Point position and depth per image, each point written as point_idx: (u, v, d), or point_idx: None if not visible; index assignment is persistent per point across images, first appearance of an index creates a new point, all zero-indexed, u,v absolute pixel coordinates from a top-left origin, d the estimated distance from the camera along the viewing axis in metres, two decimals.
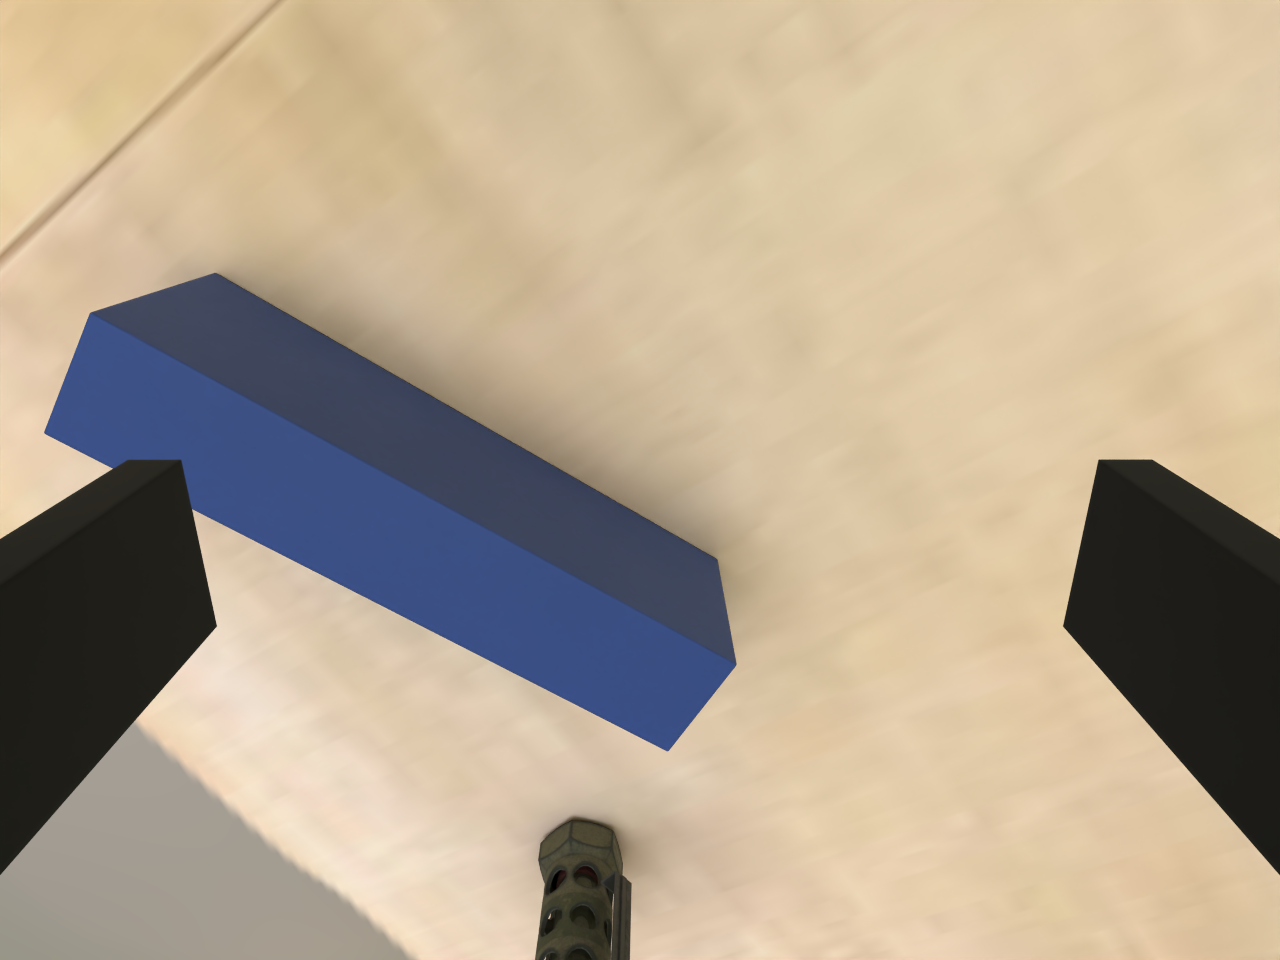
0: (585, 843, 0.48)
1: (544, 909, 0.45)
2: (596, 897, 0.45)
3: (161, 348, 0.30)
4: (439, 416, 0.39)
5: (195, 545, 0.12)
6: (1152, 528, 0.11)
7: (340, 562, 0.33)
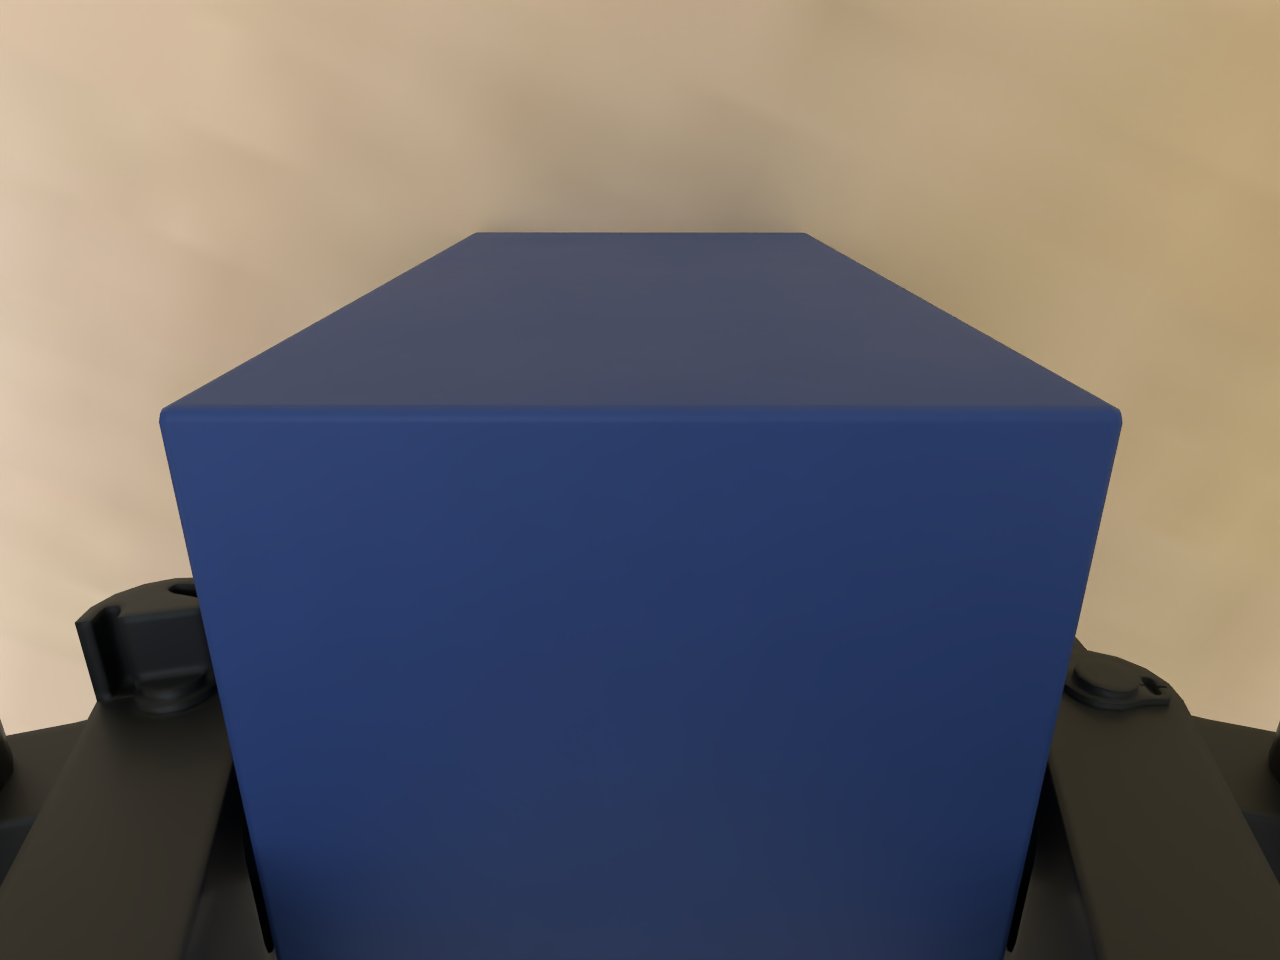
0: None
1: None
2: None
3: (1034, 759, 0.06)
4: None
5: None
6: None
7: None
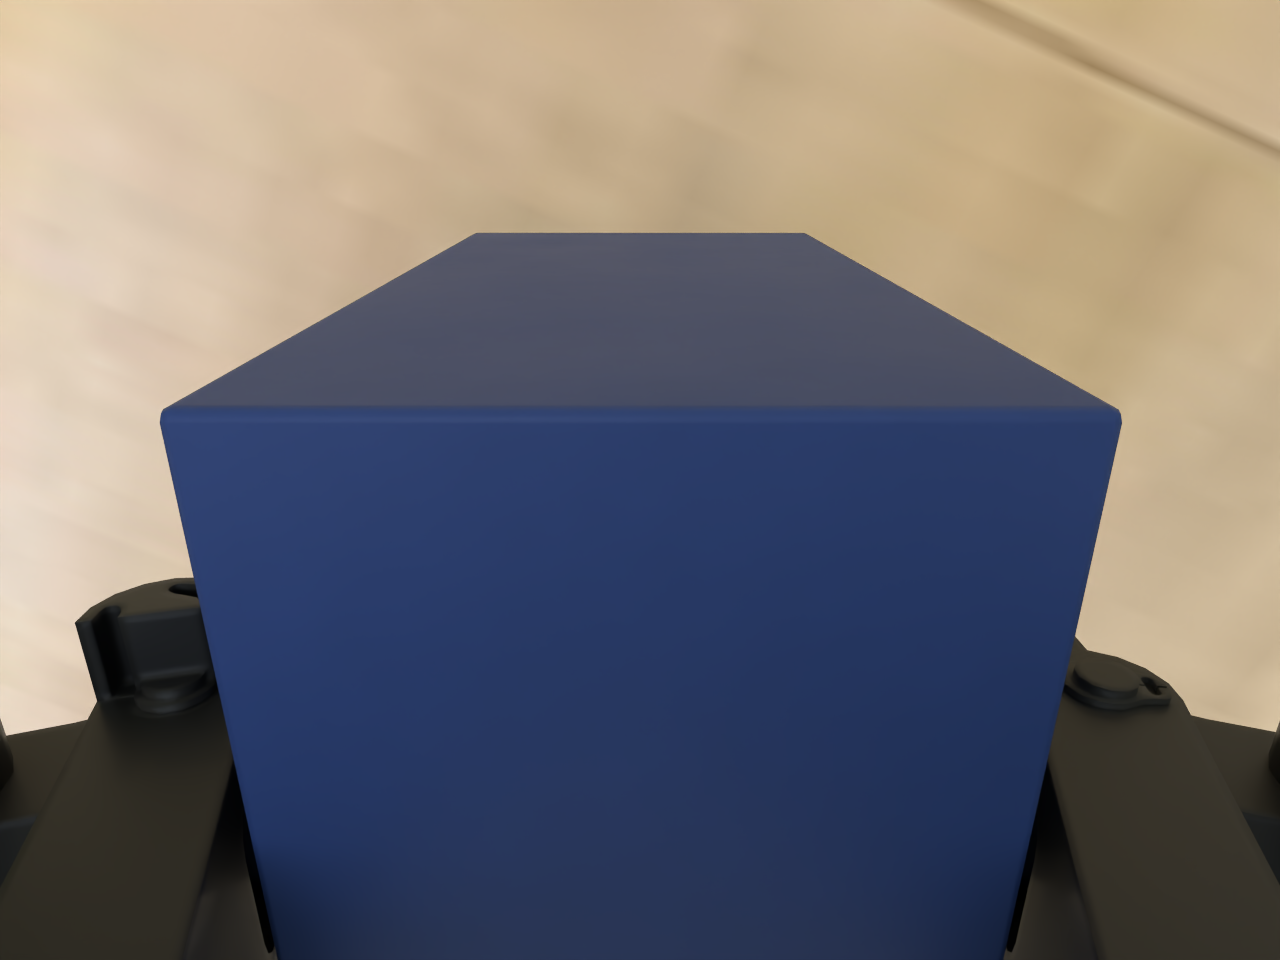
0: None
1: None
2: None
3: (1032, 760, 0.06)
4: None
5: None
6: None
7: None
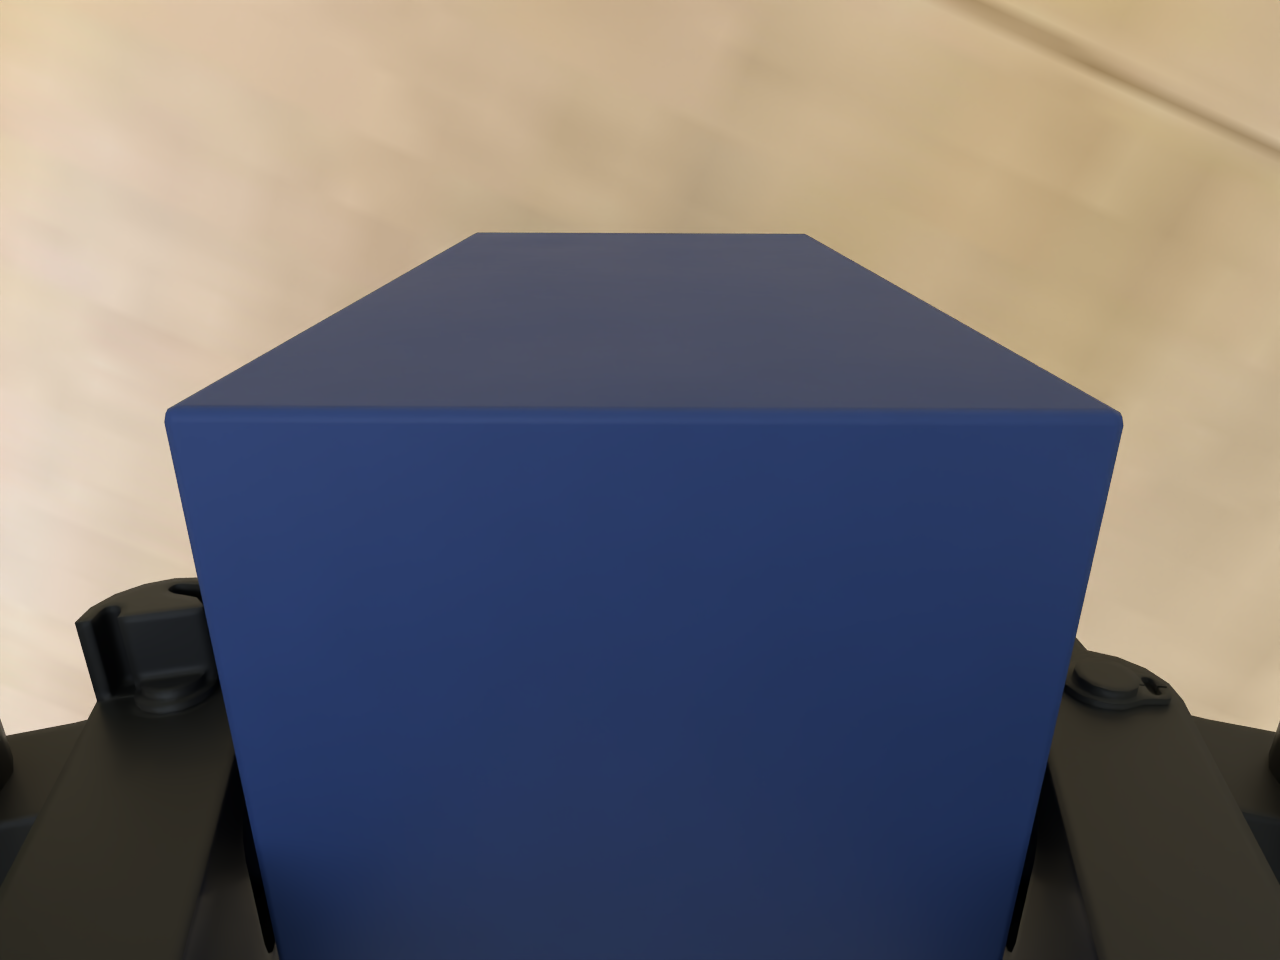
0: None
1: None
2: None
3: (1033, 761, 0.06)
4: None
5: None
6: None
7: None
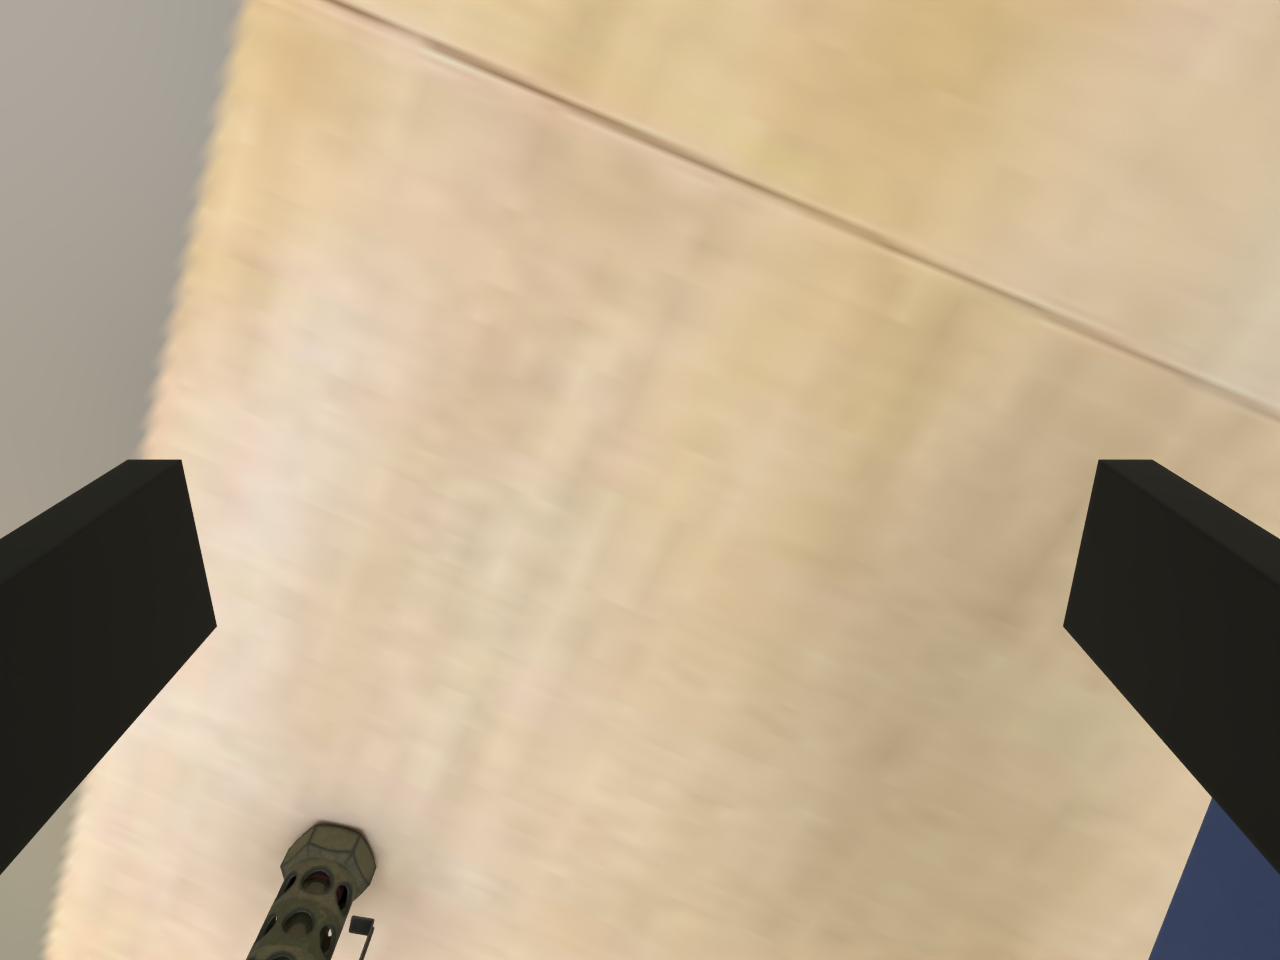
0: (358, 865, 0.47)
1: (295, 902, 0.44)
2: (340, 927, 0.45)
3: None
4: None
5: (195, 545, 0.12)
6: (1151, 529, 0.11)
7: None
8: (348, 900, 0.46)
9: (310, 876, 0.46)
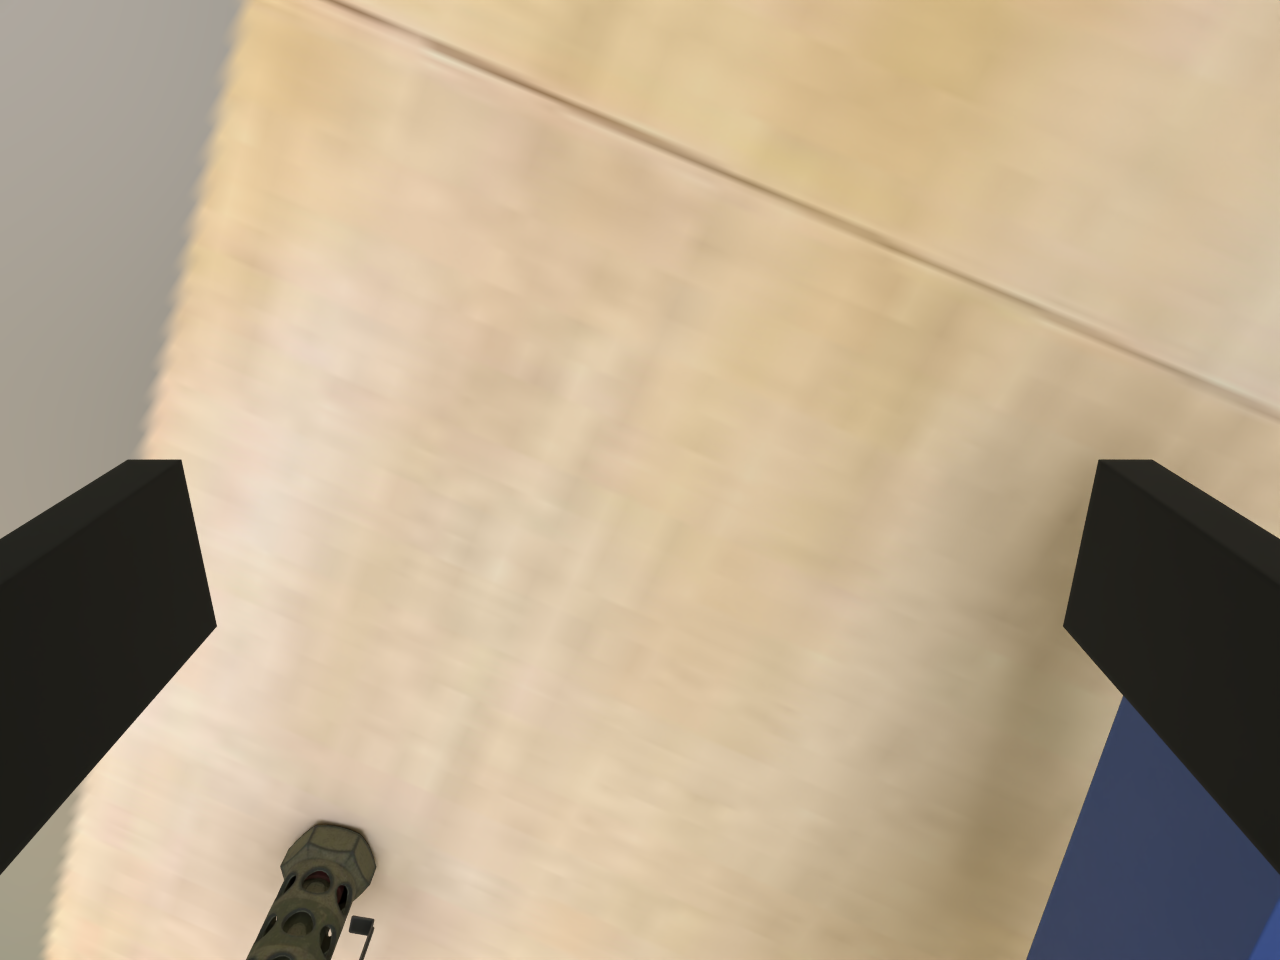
0: (358, 865, 0.47)
1: (295, 902, 0.44)
2: (340, 927, 0.45)
3: None
4: None
5: (195, 545, 0.12)
6: (1151, 529, 0.11)
7: None
8: (348, 900, 0.46)
9: (310, 876, 0.46)
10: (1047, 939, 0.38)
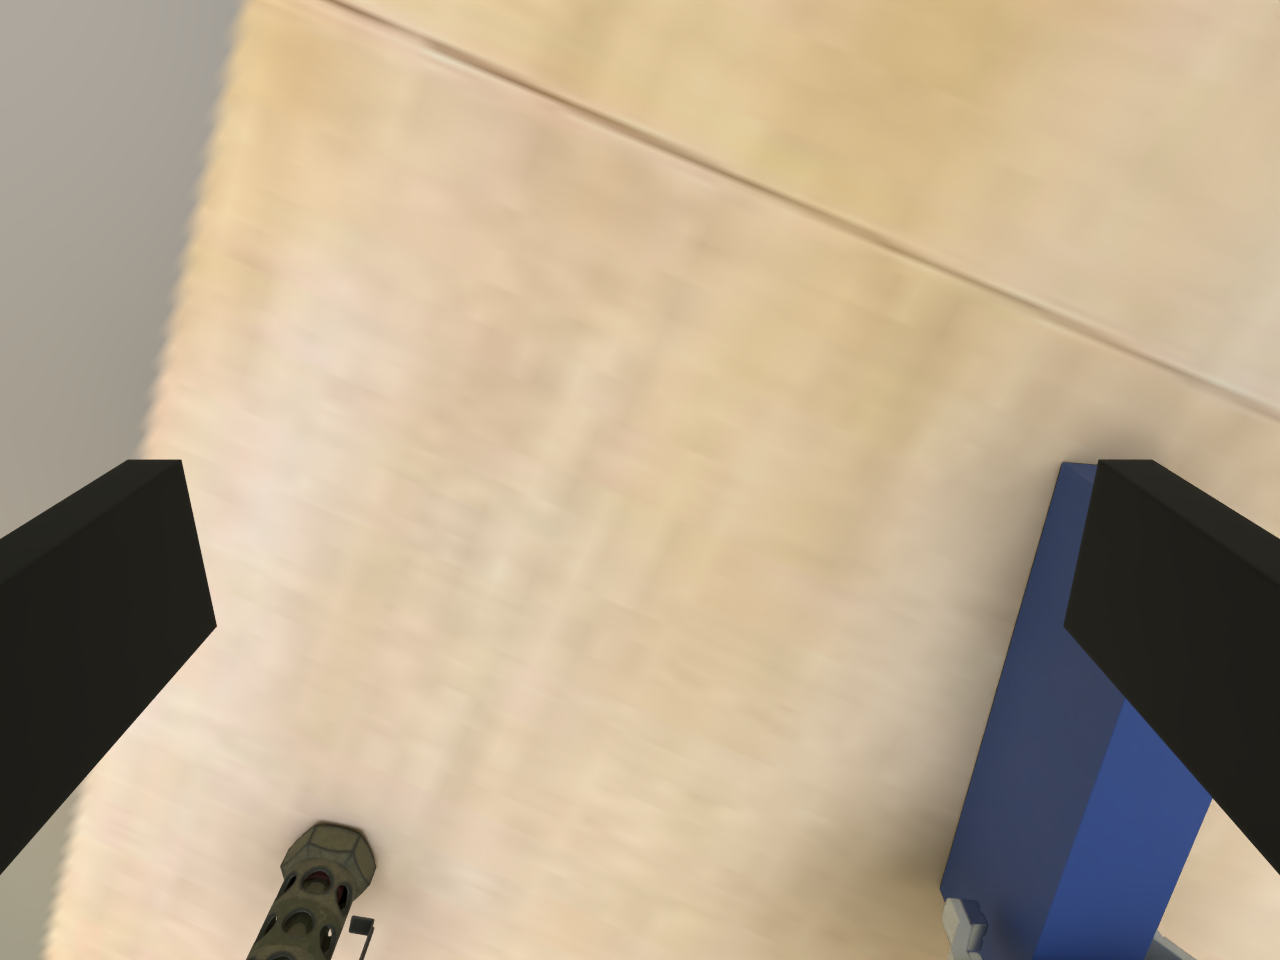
0: (358, 865, 0.47)
1: (295, 902, 0.44)
2: (340, 927, 0.45)
3: None
4: None
5: (195, 545, 0.12)
6: (1151, 529, 0.11)
7: (1113, 793, 0.36)
8: (348, 900, 0.46)
9: (310, 876, 0.46)
10: (972, 804, 0.47)
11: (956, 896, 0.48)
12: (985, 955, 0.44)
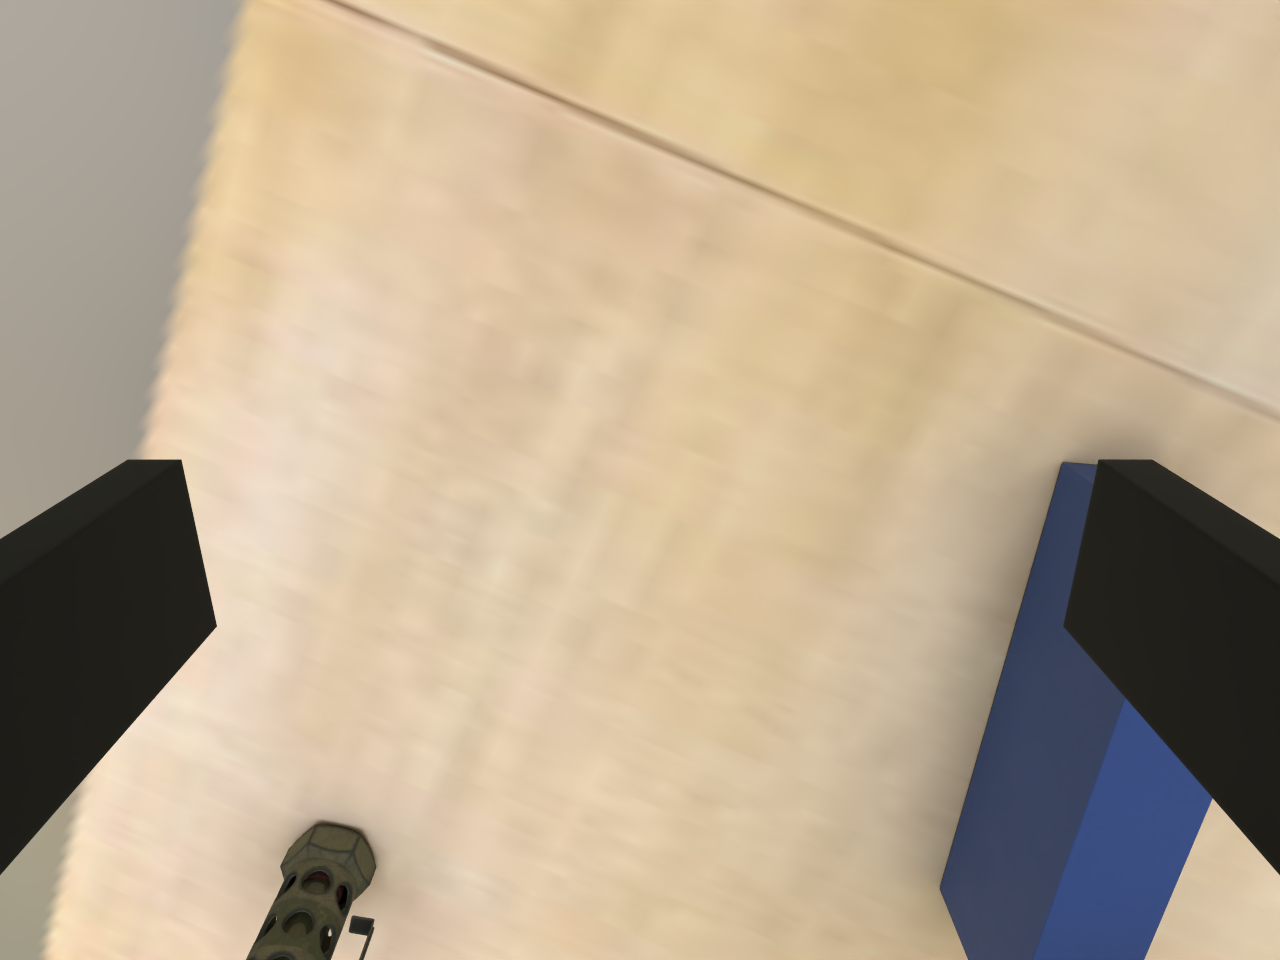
0: (358, 865, 0.47)
1: (295, 902, 0.44)
2: (340, 927, 0.45)
3: None
4: None
5: (195, 545, 0.12)
6: (1151, 529, 0.11)
7: (1113, 793, 0.36)
8: (348, 900, 0.46)
9: (310, 876, 0.46)
10: (972, 804, 0.47)
11: (956, 896, 0.48)
12: (985, 955, 0.44)
